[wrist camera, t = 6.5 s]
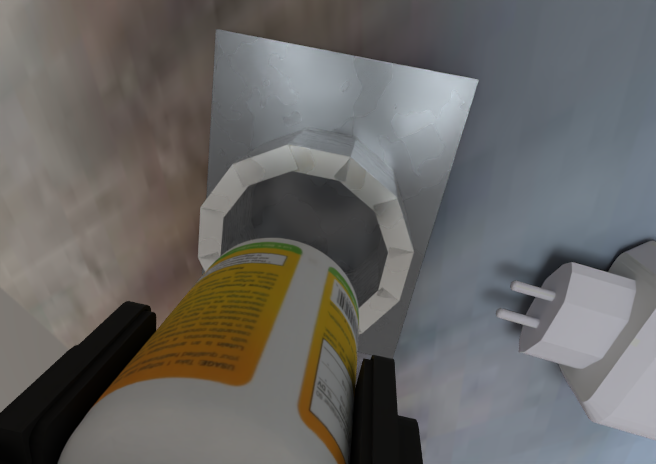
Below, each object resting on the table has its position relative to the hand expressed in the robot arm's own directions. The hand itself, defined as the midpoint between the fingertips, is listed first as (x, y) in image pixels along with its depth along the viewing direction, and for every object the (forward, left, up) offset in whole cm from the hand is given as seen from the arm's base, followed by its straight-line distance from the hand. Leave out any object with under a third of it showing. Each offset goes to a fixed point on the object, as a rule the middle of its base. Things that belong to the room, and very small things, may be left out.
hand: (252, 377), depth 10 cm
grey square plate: (0, 0, -13) cm, 13 cm away
